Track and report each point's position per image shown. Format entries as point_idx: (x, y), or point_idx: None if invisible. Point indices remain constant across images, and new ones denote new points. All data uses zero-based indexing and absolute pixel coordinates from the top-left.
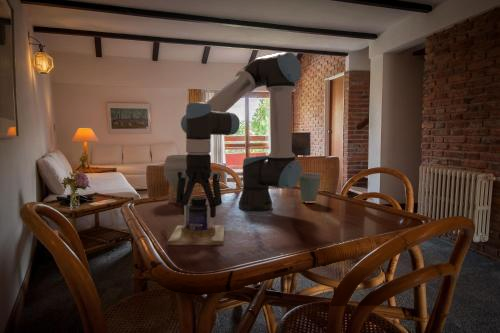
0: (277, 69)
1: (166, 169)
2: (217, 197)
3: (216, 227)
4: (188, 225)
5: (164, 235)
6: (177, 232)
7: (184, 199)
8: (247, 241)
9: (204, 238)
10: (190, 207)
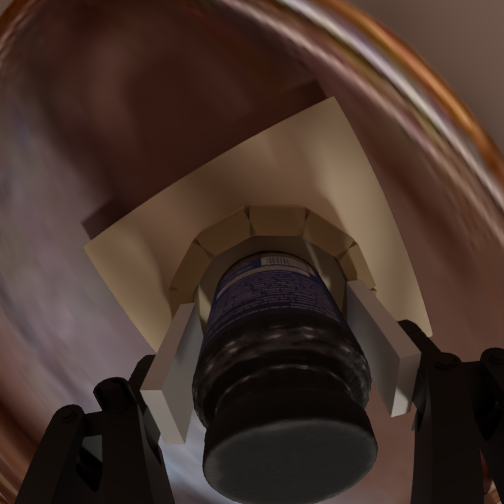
0: None
1: None
2: (37, 458)
3: None
4: None
5: (431, 218)
6: (378, 242)
7: (445, 394)
8: (52, 322)
9: (177, 228)
10: (338, 346)
